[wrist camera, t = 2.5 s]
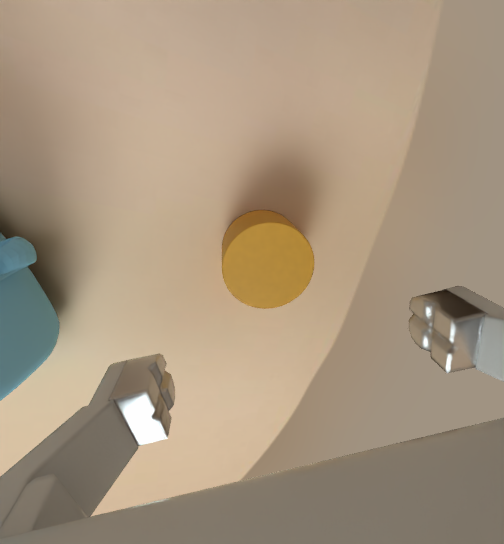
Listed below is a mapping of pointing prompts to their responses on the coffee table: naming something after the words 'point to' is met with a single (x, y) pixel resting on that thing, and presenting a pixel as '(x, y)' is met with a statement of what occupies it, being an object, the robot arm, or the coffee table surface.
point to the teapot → (22, 316)
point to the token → (266, 260)
